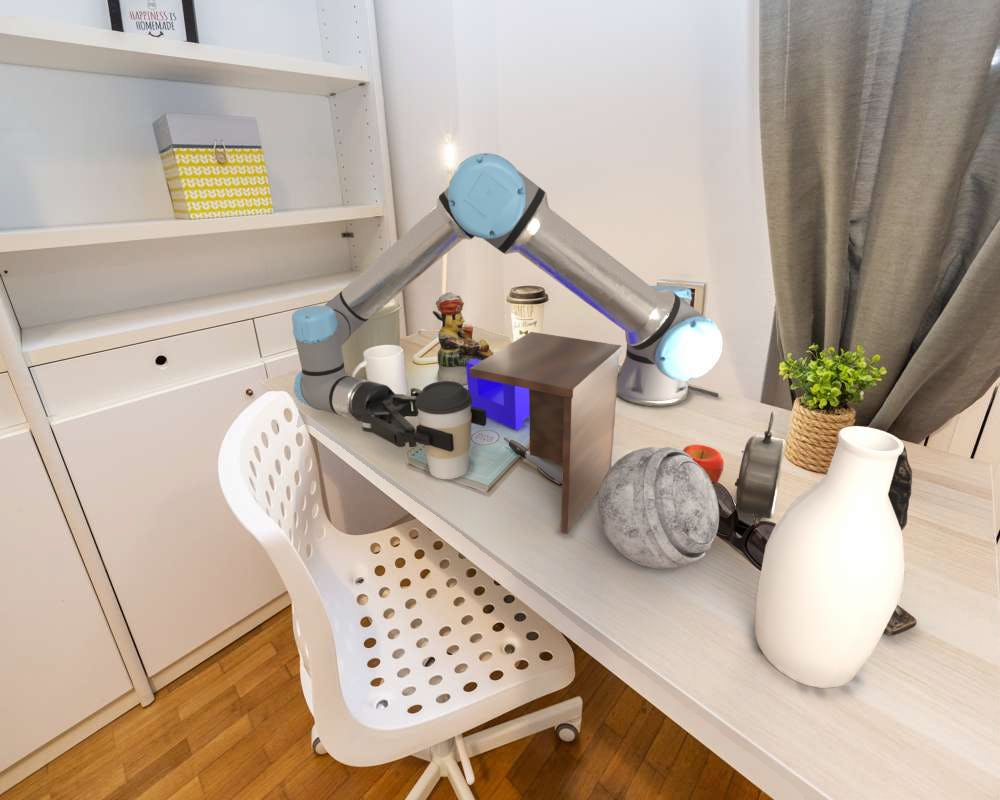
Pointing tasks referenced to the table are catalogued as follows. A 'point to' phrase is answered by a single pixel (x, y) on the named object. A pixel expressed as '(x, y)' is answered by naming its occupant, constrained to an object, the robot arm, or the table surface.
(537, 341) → the cubby
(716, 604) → the table surface
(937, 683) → the table surface
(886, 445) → the bottle
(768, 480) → the alarm clock
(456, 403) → the coffee cup
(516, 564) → the table surface
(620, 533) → the decorative orb
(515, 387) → the blue hollow box
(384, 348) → the mug
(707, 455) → the apple
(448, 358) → the figurine
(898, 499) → the statue
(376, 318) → the canister
